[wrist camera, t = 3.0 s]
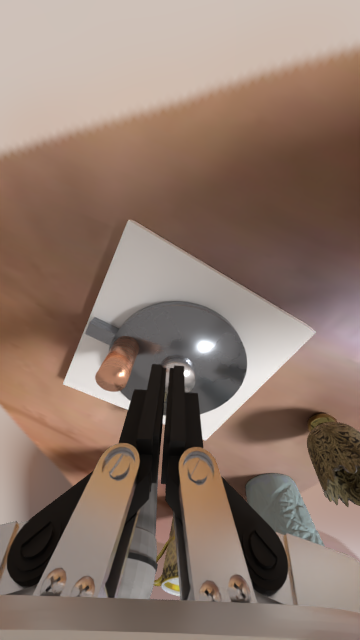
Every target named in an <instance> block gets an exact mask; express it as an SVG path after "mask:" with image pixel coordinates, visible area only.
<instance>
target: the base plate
mask: <svg viewBox="0 0 360 640" xmlns="http://www.w3.org/2000/svg"><path fill="white" fill-rule="evenodd" d="M167 301H185V302H191V303H196V304H199V305H202V306H206V307H208V308H210V309H212V310H214V311H216V312H217V313H219V314H220V315H222V316H223V317H224V318H225V319H227V320H228V321H229V322H230V323H231V325H232V326H233V327H234V328H235V330H236V331H237V333H238V334H239V337H240V339H241V341H242V343H243V346H244V348H245V351H246V355H247V371H246V375H245V378H244V381H243V383H242V385H241V386H240V388H239V390H238V391H237V392H236V393H235V395H234V396H233V397H232V398H231V399H229V400H228V401H227V402H226V403H224V404H223V405H221V406H220V407H218V408H216V409H214V410H211V411H209V412H206V413H203V414H200V419H201V429H202V439H203V440H205V441H206V440H207V439H208V438H209V437H210V436H211V435H212V434H213V433H214V432H215V431H216V430H217V429H218V428H219V427H220V426H221V425H222V424H223V423H224V422H225V421H226V420H227V419H228V418H229V417H230V416H231V415H232V414H233V413H234V412H235V411H236V410H237V409H238V408H239V407H240V406H241V405H242V404H243V403H244V402H245V401H247V400H248V399H249V398H250V397H251V396H252V395H253V394H254V393H255V392H256V391H257V390H258V389H259V388H260V387H261V386H262V385H263V384H264V383H265V382H266V381H267V380H268V379H269V378H270V377H271V376H272V375H273V374H274V373H275V372H276V371H277V370H278V369H279V368H280V367H281V366H282V365H283V364H284V363H285V362H286V361H287V360H288V359H289V358H290V357H291V356H293V355H294V354H295V353H296V352H297V351H298V350H299V349H300V348H301V347H302V346H303V345H304V344H305V343H306V342H307V341H308V340H309V339H310V338H311V337H312V336H313V335H314V334H315V333H316V331H314V330H313V329H312V328H311V327H310V326H309V325H307V324H306V323H304V322H302V321H301V320H299V319H297V318H296V317H294V316H292V315H291V314H289V313H287V312H286V311H284V310H282V309H281V308H279V307H277V306H276V305H274V304H272V303H271V302H269V301H267V300H266V299H264V298H262V297H261V296H259V295H257V294H256V293H254V292H252V291H251V290H249V289H247V288H246V287H244V286H242V285H241V284H239V283H237V282H236V281H234V280H232V279H231V278H229V277H227V276H226V275H224V274H222V273H221V272H219V271H217V270H216V269H214V268H212V267H211V266H209V265H207V264H206V263H204V262H202V261H201V260H199V259H197V258H196V257H194V256H192V255H191V254H189V253H187V252H186V251H184V250H182V249H181V248H179V247H177V246H176V245H174V244H172V243H171V242H169V241H167V240H166V239H164V238H162V237H161V236H159V235H157V234H156V233H154V232H152V231H151V230H149V229H147V228H146V227H144V226H142V225H141V224H139V223H137V222H136V221H134V220H128V222H127V224H126V227H125V229H124V232H123V234H122V237H121V239H120V242H119V244H118V247H117V249H116V252H115V254H114V257H113V259H112V262H111V264H110V267H109V269H108V272H107V274H106V277H105V279H104V282H103V284H102V287H101V290H100V292H99V295H98V297H97V300H96V302H95V305H94V307H93V310H92V312H91V315H90V317H89V320H88V322H87V325H86V327H85V330H84V332H83V335H82V337H81V340H80V342H79V345H78V347H77V350H76V352H75V355H74V357H73V360H72V362H71V365H70V367H69V370H68V372H67V375H66V377H65V380H64V382H63V384H64V385H66V386H69V387H71V388H74V389H76V390H79V391H82V392H84V393H87V394H89V395H92V396H94V397H97V398H99V399H102V400H104V401H107V402H109V403H112V404H114V405H117V406H119V407H122V408H124V409H127V410H128V409H129V405H130V402H131V401H130V400H128V399H127V398H126V397H125V396H124V395H123V394H122V393H121V392H120V391H117V392H111V391H107V390H104V389H102V388H101V387H100V386H99V385H98V384H97V382H96V380H95V375H96V373H97V371H98V370H99V368H100V366H101V365H102V363H103V361H104V360H105V358H106V356H107V355H108V352H109V347H110V345H108V344H106V343H103V342H101V341H99V340H97V339H95V338H93V337H90V336H88V335H86V334H85V332H86V329H87V327H88V324H89V322H90V321H91V320H92V319H93V318H94V317H96V318H98V319H100V320H103V321H105V322H107V323H109V324H111V325H113V326H115V327H117V328H120V327H121V325H122V324H123V323H124V322H125V321H126V320H127V319H128V318H129V317H130V316H131V315H133V314H134V313H136V312H137V311H139V310H141V309H143V308H145V307H147V306H150V305H153V304H156V303H161V302H167ZM165 420H166V416H165V415H163V424H165Z"/></svg>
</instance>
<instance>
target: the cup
mask: <svg viewBox="0 0 360 640" xmlns="http://www.w3.org/2000/svg"><path fill="white" fill-rule="evenodd" d="M307 428H308V430H309V432H310V433H309V435H308V438H307V448H308V452H309V455H310V458H311V461H312V464H313V466H314V469H315V471H316V474H317V476H318V479H319V481H320V484H321V486H322V489H324V492H325V493H324V495H325V497H327V498H328V499H329V501H330V502H331V501H332V500H333V501H334V502H335V504H336V505H338V499H339V498H340V499H341V501H342V502H343V503H344V504H345V505H346V506H347V507H348V500H350V501H352V502H353V503H354V504H356V505H359V506H360V432H359V431H357V430H356V429H354V428H353V427H351V426H349V425H347V424H344V423H340V422H337V420H336V419H335V418H334V417H332V416H331V415H329V414H324V413H321V414H316V415H314V416H312V417H311V418H310V419H309V420H308V422H307Z"/></svg>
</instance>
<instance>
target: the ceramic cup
mask: <svg viewBox="0 0 360 640" xmlns="http://www.w3.org/2000/svg"><path fill="white" fill-rule="evenodd" d="M166 548H167V552H166V557H165V563H164V568H163V573H162V575H161V577H160V578H159V579H158V580H154V584H153V585H155V586H161V587H162V589H163V590H164V591H166V592H167V593H170V594H173V595H177V596H180V589H179V577H178V565H177V554H176V542H175V530H174V518H173V520H172V526H171V531H170V537H169V540H168V541H167V542H166V544H165V546H164V547H163V549H162V551H161V552H160V554H159V555H158V556H157V557H156V563H157V561H158V560H159V559H160V558H161V556H162V555H163V554H164V552H165V550H166Z"/></svg>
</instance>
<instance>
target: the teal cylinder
mask: <svg viewBox="0 0 360 640" xmlns="http://www.w3.org/2000/svg"><path fill="white" fill-rule="evenodd" d="M246 496H247V502H248V504H249V505H250V506H251V507H252V508H253V509H254V510H255V511H256V512H257V513H258V514H259V515H260V516H261V517H262V518H263V519H264V520H265V521H266V522H267V523H268V524H269V525H270V526H271V527H272V529H273V530H274V531H275V532H277V533H280V534H283V535H285V534H286V533H288V534H291V535H293V536H296V537H299V538H302V539H305V540H308V541H310V542H313V543H316V544H319V545H322V546H324V544H323V542H322V540H321V539H320V536H319V533H318V531H316V529H315V525H314V523H313V522H312V519H311V517H310V514H309V512H308V510H307V508H306V506H305V504H304V502H303V499H302V497H301V495H300V493H299V490H298V488H297V486H296V484H295V482H294V481H293V480H292V479H291V478H290V477H289V476H286V475H283V474H277V473H269V474H263V475H259V476H256V477H254V478H252V479H251V480H250V481H249V482H248V483H247V484H246ZM324 547H325V546H324Z"/></svg>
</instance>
